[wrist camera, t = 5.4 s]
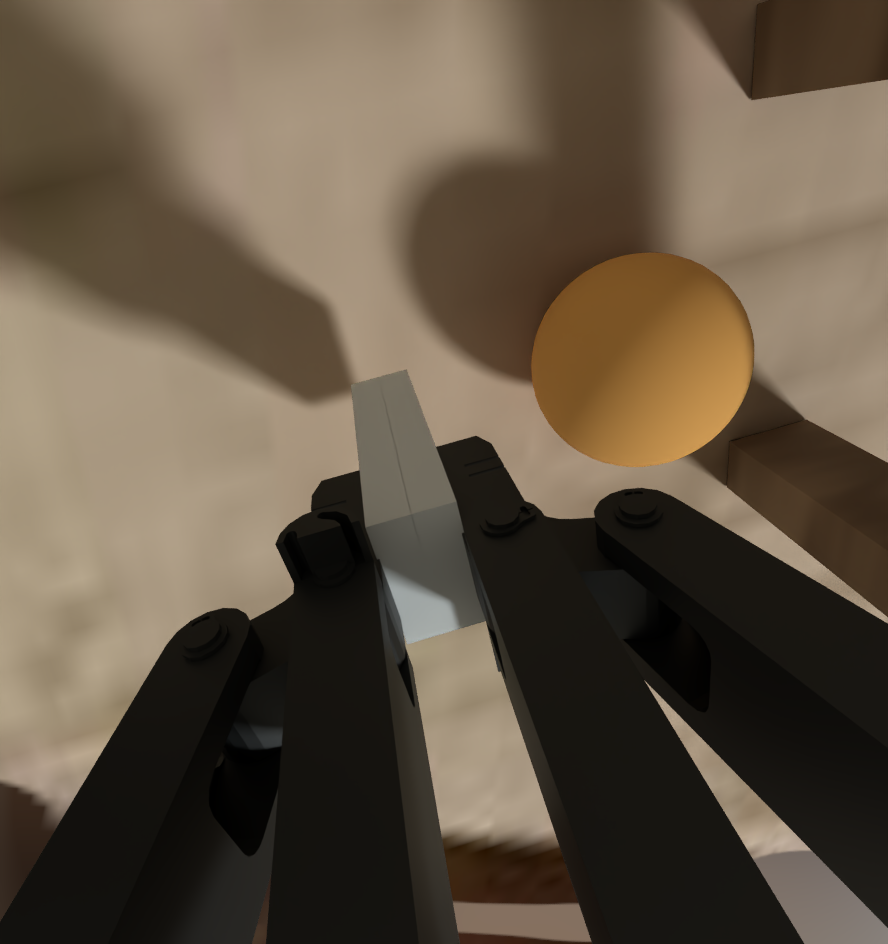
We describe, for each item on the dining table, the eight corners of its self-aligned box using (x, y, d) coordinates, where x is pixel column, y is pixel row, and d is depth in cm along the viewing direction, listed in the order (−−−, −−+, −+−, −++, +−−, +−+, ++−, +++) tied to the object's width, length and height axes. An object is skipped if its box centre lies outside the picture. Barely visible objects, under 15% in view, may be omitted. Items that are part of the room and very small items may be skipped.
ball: (534, 314, 11) (506, 260, 16) (563, 525, 14) (532, 427, 19) (817, 251, 11) (701, 215, 15) (789, 485, 13) (698, 394, 18)
